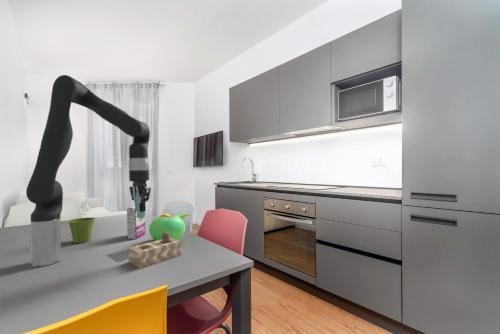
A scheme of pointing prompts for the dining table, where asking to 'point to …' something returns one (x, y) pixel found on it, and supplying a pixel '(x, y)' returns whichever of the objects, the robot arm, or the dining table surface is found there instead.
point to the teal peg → (139, 214)
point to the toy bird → (168, 226)
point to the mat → (119, 255)
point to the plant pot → (81, 229)
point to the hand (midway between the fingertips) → (140, 211)
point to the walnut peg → (165, 237)
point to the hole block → (154, 252)
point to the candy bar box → (134, 224)
